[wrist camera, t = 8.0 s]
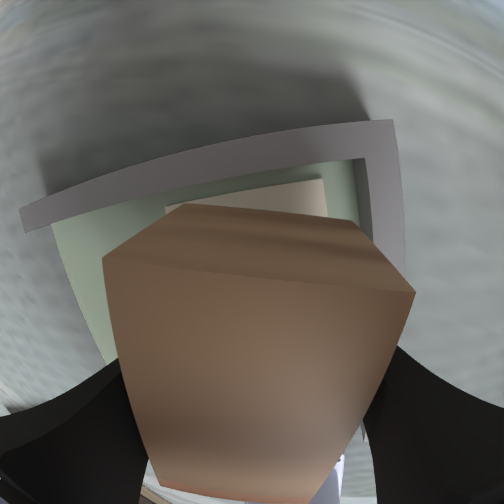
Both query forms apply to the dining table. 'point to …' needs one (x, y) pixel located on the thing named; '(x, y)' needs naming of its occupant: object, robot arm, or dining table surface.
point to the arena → (228, 198)
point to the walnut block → (251, 345)
